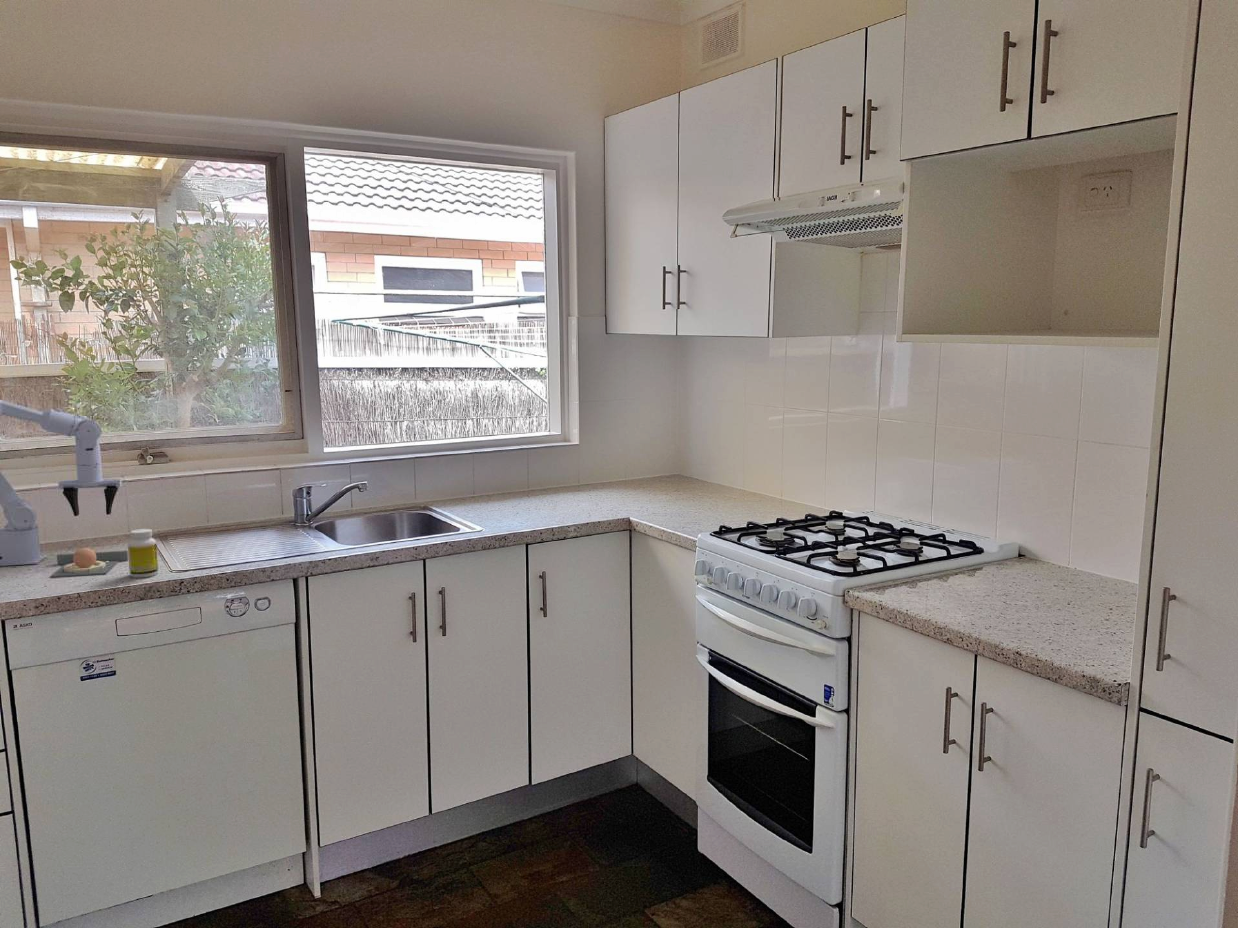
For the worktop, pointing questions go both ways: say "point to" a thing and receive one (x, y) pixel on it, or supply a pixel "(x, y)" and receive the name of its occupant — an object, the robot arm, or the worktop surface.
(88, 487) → the robot arm
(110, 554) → the acrylic wall
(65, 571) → the slate mat
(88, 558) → the ball
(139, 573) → the pill bottle
